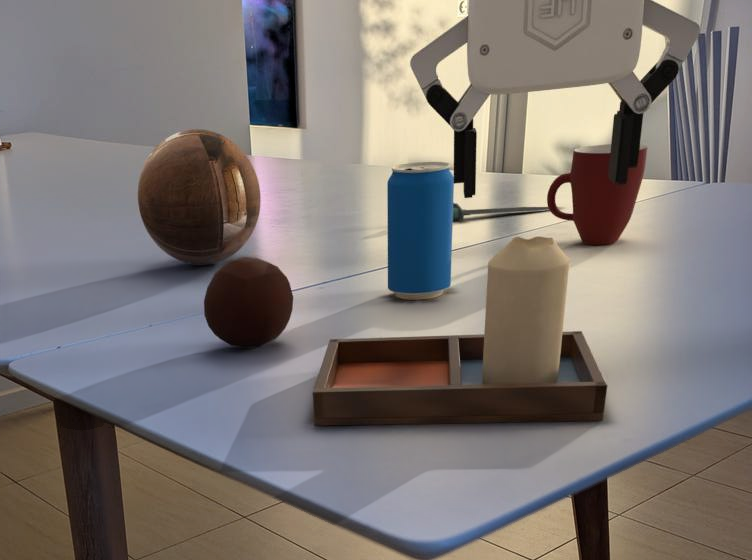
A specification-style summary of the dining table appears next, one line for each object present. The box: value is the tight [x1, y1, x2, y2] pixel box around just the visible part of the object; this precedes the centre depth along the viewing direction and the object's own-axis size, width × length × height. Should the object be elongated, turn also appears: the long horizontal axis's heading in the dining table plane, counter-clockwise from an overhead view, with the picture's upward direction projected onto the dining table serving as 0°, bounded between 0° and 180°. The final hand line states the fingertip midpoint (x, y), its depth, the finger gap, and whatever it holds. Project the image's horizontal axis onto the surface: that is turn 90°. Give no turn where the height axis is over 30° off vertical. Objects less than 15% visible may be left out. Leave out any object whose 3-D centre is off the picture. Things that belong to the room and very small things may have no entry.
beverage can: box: [386, 161, 455, 301], centre depth 92 cm, size 6×6×12 cm
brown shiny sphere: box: [137, 128, 262, 266], centre depth 112 cm, size 15×15×15 cm
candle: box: [482, 236, 571, 384], centre depth 66 cm, size 6×6×10 cm
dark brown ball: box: [203, 256, 294, 349], centre depth 82 cm, size 8×9×8 cm
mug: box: [546, 143, 648, 246], centre depth 108 cm, size 11×8×10 cm
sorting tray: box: [312, 330, 608, 426], centre depth 69 cm, size 20×13×2 cm, turn 82°
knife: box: [453, 202, 559, 222], centre depth 129 cm, size 23×2×5 cm
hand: (542, 188), depth 61 cm, fingers open, 9 cm apart
